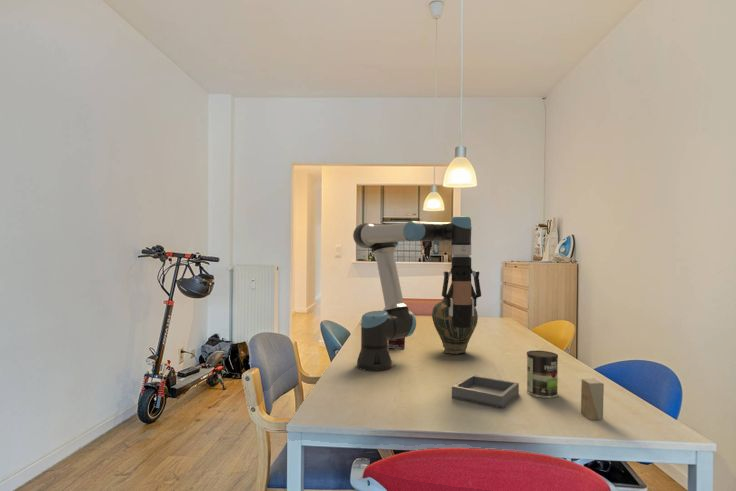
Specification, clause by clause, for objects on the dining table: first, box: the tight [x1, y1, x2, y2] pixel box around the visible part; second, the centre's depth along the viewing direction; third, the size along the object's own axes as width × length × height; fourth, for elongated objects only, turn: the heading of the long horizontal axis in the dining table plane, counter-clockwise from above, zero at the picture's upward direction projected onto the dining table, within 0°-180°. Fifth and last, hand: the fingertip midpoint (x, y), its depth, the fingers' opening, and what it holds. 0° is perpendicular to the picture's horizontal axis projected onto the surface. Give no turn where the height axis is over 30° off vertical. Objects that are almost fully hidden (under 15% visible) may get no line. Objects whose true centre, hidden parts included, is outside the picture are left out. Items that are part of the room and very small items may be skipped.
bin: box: [451, 374, 520, 410], centre depth 151 cm, size 17×17×4 cm
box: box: [580, 378, 605, 421], centre depth 133 cm, size 5×4×11 cm
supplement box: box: [388, 337, 406, 350], centre depth 225 cm, size 9×5×16 cm, turn 84°
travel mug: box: [451, 274, 472, 328], centre depth 169 cm, size 8×8×20 cm
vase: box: [431, 297, 479, 355], centre depth 216 cm, size 22×22×30 cm
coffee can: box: [526, 350, 559, 399], centre depth 155 cm, size 10×10×14 cm
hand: (461, 315), depth 169 cm, fingers closed on travel mug, 8 cm apart
